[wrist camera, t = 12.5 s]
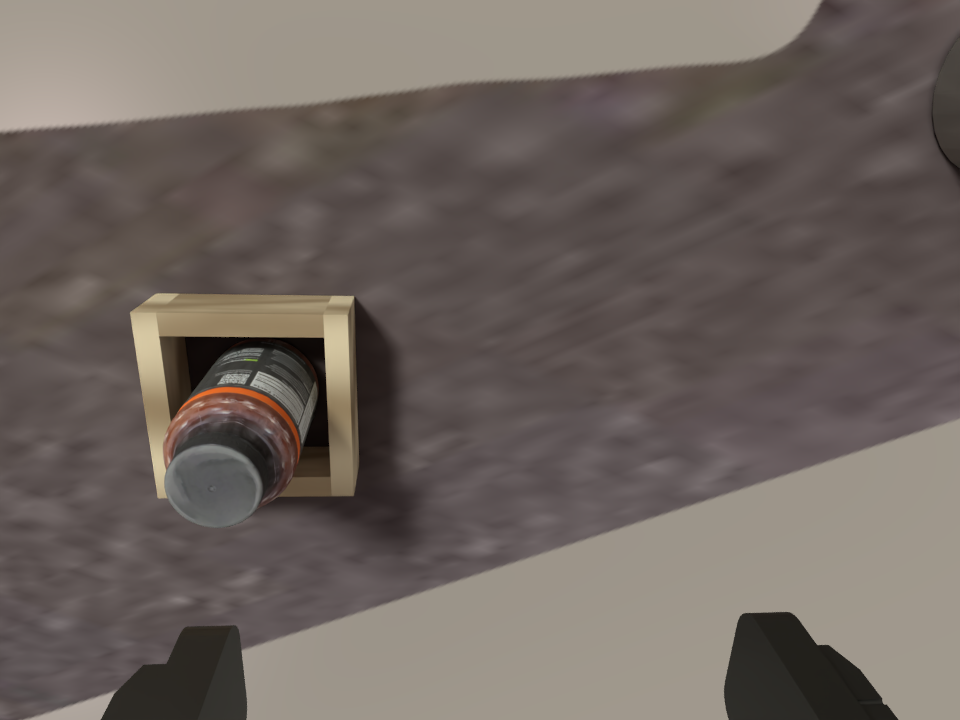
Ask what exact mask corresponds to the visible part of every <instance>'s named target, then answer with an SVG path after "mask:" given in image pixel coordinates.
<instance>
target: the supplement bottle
mask: <svg viewBox="0 0 960 720" xmlns="http://www.w3.org/2000/svg"><path fill="white" fill-rule="evenodd" d="M318 395H319V386H318V379H317V375H316V373H315V370H314V368H313V366H312V365H311V363H310V362H309V360H308V359H307V358H306V357H305V356H304V355H303V354H302V353H301V352H300V351H299V350H297V349H296V348H295V347H293V346H291V345H290V344H288V343H285V342H283V341H280V340H275V339H271V338H253V339H248V340H244V341H242V342H239V343H237V344H235V345H233V346H232V347H230V348H229V349H228V350H226V351H225V352H224V353H223V354H222V355H221V356H220V357H219V358H218V360H217V361H216V362H215V363H214V365H213V366H212V367H211V368H210V370H209V371H208V373H207V374H206V375H205V377H204V378H203V379H202V381H201V382H200V383H199V385H198V386H197V387H196V388H195V390H194V391H193V392H192V394H191V395H190V396H189V398H188V399H187V400H186V401H185V403H184V404H183V406H182V407H181V408H180V410H179V411H178V412H177V414H176V416H175V417H174V418H173V420H172V421H171V423H170V425H169V427H168V429H167V431H166V434H165V437H164V442H163V459H164V465H165V468H166V474H165V478H164V479H165V480H164V488H165V492H166V495H167V498H168V500H169V502H170V503H171V505H172V506H173V508H174V509H175V510H176V511H177V512H178V513H179V514H180V515H182V516H183V517H184V518H186V519H187V520H189V521H191V522H193V523H196V524H198V525H201V526H205V527H213V528H221V527H229V526H233V525H236V524H238V523H241V522H242V521H244V520H246V519H247V518H248V517H250V516H251V515H252V514H253V513H254V512H255V511H256V509H258V508H260V507H262V506H264V505H266V504H268V503H269V502H271V501H273V500H274V499H275V498H277V497H278V496H279V495H280V494H281V493H282V492H283V491H284V490H285V489H286V487H287V486H288V484H289V483H290V481H291V479H292V477H293V475H294V472H295V470H296V467H297V466H298V461H299V458H300V455H301V453H302V449H303V446H304V443H305V441H306V437H307V434H308V430H309V428H310V425H311V421H312V420H313V418H314V417H315V416H314V417H313V415H314V414H315V412H314V411H315V409H316V407H317V400H318Z"/></svg>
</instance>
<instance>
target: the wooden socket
mask: <svg viewBox="0 0 960 720" xmlns="http://www.w3.org/2000/svg"><path fill="white" fill-rule="evenodd" d="M130 315H131V321H132V328H133V335H134V341H135V348H136V355H137V361H138V368H139V375H140V381H141V388H142V395H143V401H144V408H145V415H146V421H147V428H148V435H149V441H150V448H151V455H152V462H153V468H154V475H155V482H156V488H157V495H158V498H167V495H166V492H165V488H164V480H165V479H164V478H165V474H166V468H165V465H164V459H163V442H164V437H165V434H166V431H167V429H168V427H169V425H170V423H171V421H172V420H173V418H174V417H175V416H176V414H177V412H178V411H179V410H180V408H181V407H182V406H183V404H184V403H185V401H186V400H187V399H188V398H189V396H190V395H191V394H192V391H191V383H190V375H189V367H188V359H187V350H186V342H185V336H189V337H310V338H324V343H325V364H326V385H327V407H328V428H329V447H303V449H302V453H301V455H300V458H299V461H298V466H297V467H296V470H295V472H294V475H293V477H292V479H291V481H290V483H289V484H288V486H287V487H286V489H285V490H284V491H283V492H282V493H281V494H280V495H279V496H278V497H306V496H354V492H355V486H356V480H357V474H358V469H359V441H358V407H357V374H356V340H355V307H354V296H305V295H231V294H155V295H154V296H152V297H151V298H149V299H148V300H147V301H145V302H144V303H143V304H141V305H140V306H138V307H137V308H136V309H134V310H133V311H132V312H130Z"/></svg>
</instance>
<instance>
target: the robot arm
mask: <svg viewBox="0 0 960 720" xmlns="http://www.w3.org/2000/svg"><path fill="white" fill-rule="evenodd" d="M932 115H933V123H934V130H935V134H936V137H937V139H938V142H939V145H940V147H941V149H942V150H943V152H944V153H945V154H946V156H947V157H948V159H949V160H950V161H951V162H952V163H953V164H955V165H956V166H957V167H958V168H960V37H959V38H958V40H957V41H956V43H955V44H954V46H953V47H952V49H951V50H950V52H949V53H948V55H947V57H946V60H945V62H944V64H943V66H942V68H941V71H940V73H939V76H938V80H937V84H936V87H935V91H934V97H933V111H932ZM724 698H725V705H726V711H727V715H728V718H729V720H898V719H897V717H896V716H895V715H894V713H893V712H892V711H891V710H890V708H889V707H888V706H887V705H884V704H883V702H882V698H881V697H880V695H879V694H878V693H877V691H876V690H875V689H874V687H873V686H872V685H871V683H870V682H869V681H868V680H867V678H866V677H865V676H864V674H863V673H862V672H861V670H860V669H858V668H857V667H856V666H855V665H853V664H852V663H851V662H850V661H848V660H847V659H846V658H844V657H843V656H842V655H841V654H839V653H838V652H836V651H835V650H834V649H833V648H832V647H830V646H829V645H817V644H816V643H815V642H814V640H813V639H812V638H811V636H810V635H809V633H808V632H807V631H806V629H805V628H804V626H803V625H802V624H801V622H800V621H799V620H798V618H797V617H796V616H795V615H793V614H792V613H789V612H776V613H775V612H774V613H745V614H742V615H741V616H740V618H739V620H738V623H737V628H736V632H735V637H734V642H733V647H732V652H731V656H730V661H729V666H728V670H727V675H726V680H725V686H724ZM246 718H247V698H246V689H245V679H244V670H243V661H242V652H241V643H240V635H239V630H238V628H237V626H235V625H232V626H195V627H185V628H184V629H183V630H182V632H181V634H180V635H179V638H178V640H177V642H176V644H175V646H174V649H173V651H172V653H171V655H170V657H169V660H168V662H167V664H152V665H143V666H142V667H141V668H140V669H139V670H138V671H137V672H136V673H135V674H134V675H133V676H132V677H131V678H130V679H129V680H128V681H127V682H126V683H125V684H124V685H123V686H122V687H121V688H120V689H119V690H118V691H117V692H116V693H115V694H114V696H113V697H112V699H111V701H110V703H109V705H108V707H107V709H106V711H105V713H104V715H103V717H102V719H101V720H246Z"/></svg>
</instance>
